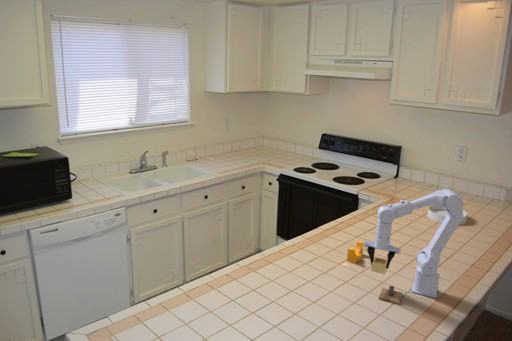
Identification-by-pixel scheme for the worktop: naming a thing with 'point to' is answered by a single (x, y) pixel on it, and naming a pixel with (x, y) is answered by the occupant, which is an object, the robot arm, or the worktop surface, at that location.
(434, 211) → the dish
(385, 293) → the shaft block
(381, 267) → the collar
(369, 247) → the robot arm
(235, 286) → the worktop surface
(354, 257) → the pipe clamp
